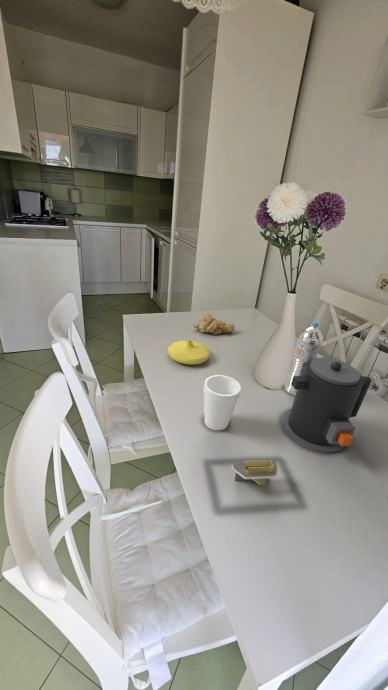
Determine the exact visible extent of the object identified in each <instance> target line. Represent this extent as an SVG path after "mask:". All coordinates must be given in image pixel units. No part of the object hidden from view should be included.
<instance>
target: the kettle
mask: <svg viewBox="0 0 388 690" xmlns="http://www.w3.org/2000/svg"><path fill="white" fill-rule="evenodd" d="M291 384H292V386H293V387H294V388H295V389H297V392H296V396H295V395H294V398H293V402H292V404H291V405H292V406H291V408H289V409H288V410H286V411H285V413H284V414H283V415H282V419H281V424H282V427H283V430H284V432H285V434H287V436H288V437H289V438H290V439H291V440H292V441H294V442H295V443H296V444H298V445H299V446H301V447H303V448H305V449H308V450H310V451H314V452H317V453H323V454H332V453H333V454H334V453H337V452H339V451H341V450H342V449H343V448H344V447H345V446H341V445H340V444H339V442H338V441H337V440H336V438H337V435H338V433H339V432H343V431H348V432H349V433H350V434H351V436H352V437H353V435H354V432H355V431H356V426H354V425H353V423H352V422H351V421H350V418H355V417H356V416H357V415H358V413H359V411H360V408H361V406H362V405H363V402H364V400H365V397H366V395H367V392H368V390H369V388H370V386H371V384H372V378H371V377H370V376H366V375H362V374H361V373H360V372H359V371H358V370H357V368H355V367H354V366H352V365H350V364H349V363H347V362H345V361H342V360H339V359H335V358H332V357H326V356H325V357H323V356H322V357H317V358H315V359H311V360H309V361H307V362H306V364H305V367H304V370H303V373H302V376H293V379H292V382H291Z"/></svg>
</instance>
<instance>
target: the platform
mask: <svg viewBox="0 0 388 690" xmlns="http://www.w3.org/2000/svg"><path fill="white" fill-rule="evenodd" d="M231 468H232V471H234V472H235V475H234V479H233V481H234V482H238V481H254V482H255V483H256V484H258V485H259V486H263V487H265V486H266V482H267V480H269V479H274V478H276V477H277V475H278V474H277V473H278V464H277V462H276V461H275V460H271V459H265V460H264V459H263V460H257V461H256V460H245V461H238V462H237V461H235V462H232V463H231Z"/></svg>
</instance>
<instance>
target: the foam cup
mask: <svg viewBox="0 0 388 690" xmlns="http://www.w3.org/2000/svg"><path fill="white" fill-rule="evenodd" d="M241 391H242V387H241V384H240V383H239V382H238V380H237V379H235V378H233V377H231V376H228V375H224V374H213V375H210V376H208V377H207V378H205V380H204V384H203V392H202V393H203V415H204V416H203V417H204V420H203V421H204V424H205V426H206V427H208V428H209V429H211V430H213V431H223V430H226V428H227V427H229V425H230V424H229V423H230V422H231V421H230V420H231V419H232V416H233V413H234V411H235V408H236V405H237V402H238V400H239V398H240V395H241Z"/></svg>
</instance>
